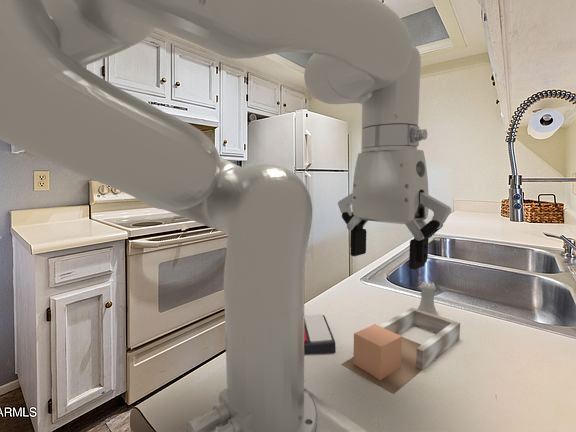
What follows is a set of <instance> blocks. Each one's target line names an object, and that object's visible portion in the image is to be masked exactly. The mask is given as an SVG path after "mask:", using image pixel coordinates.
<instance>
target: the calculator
mask: <svg viewBox="0 0 576 432" xmlns="http://www.w3.org/2000/svg"><path fill="white" fill-rule="evenodd" d="M336 349H337V348H336V340H335V337H334V335H333V333H332V331H331V328H330V325H329V323H328V320H327V318H326V315H324V314H322V313H318V314H308V315H307V314H306V315H305V314H304V355H318V354H320V355H322V354H335V353H336Z"/></svg>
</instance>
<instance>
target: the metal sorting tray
mask: <svg viewBox="0 0 576 432" xmlns="http://www.w3.org/2000/svg"><path fill="white" fill-rule="evenodd" d="M378 326H380V327H382V328H384V329H387V330H389V331H391V332H393V333H396V334H398V335H401V334H402V333H404V332H406V331H407V330H410V329H411V328H412V327H414V326H415V327H417V328H419V329H422V330H426V331H429V332H431V333H434V334H435V335H433V336H432V337H430V338H429V339H427V340H426V341H425V342H423V343H419V342H416V341H414V340H411V339H409V338H406V337H403V336H402V346H401V368H399V369H397V370H396V371H394V372H392V373H391V374H389V375H388V376H386V377H384V378H383V379H381V380H379V379H378V378H376V377H374V376H373V375H371V374H369V373H368V372H366V371H364V370H363V369H361V368H359V367H358V366H356V365H355V364H353V357H354V356H352V357H351V358H349V359H347V360H346V361H344V362H342V363H341V364H340V365H342V366H343V367H344V368H347V369H348V370H350V371H352V372H354V373H355V374H357V375H359V376H361V377H362V378H364V379H366V380H368V381H369V382H371V383H373V384H375V385H376V386H378V387H381V388H382V389H384V390H385V391H388V392H390V393H391V394H392V395H394V394H396V393H398V391H399V390H400V389H402V388H403V387H404V386H405V385H406V384H407V383H409V382H410V381H412V379H414V378H415V377H416V376H417V375H419V374H420V373H421V372H422V371H424V369H425V368H427V367H429V365H430V364H431V363H432V362H434V361H435V360H436V359H438V358H439V357H440V356H441V355H442V354H444V352H446V351H447V350H448V349H449V348H450V347H452V346H453V345H454V344H455V343H457V342H458V341H459V340H460V336H461V335H460V334H461V333H460V332H461V323H460V322H458V321H455V320H453V319H449V318H447V317H442V316H440V315H438V314H437V315H434V314H431V313H428V312H424V311H421V310H418V309H417V308H415V307H411V308H408V309H407V310H405V311H404V312H401V313H400V314H398V315H396V316H394V317H392V318H391V319H389V320H387V321H384V322H383V323H381V324H379V325H378Z"/></svg>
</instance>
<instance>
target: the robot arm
mask: <svg viewBox="0 0 576 432" xmlns="http://www.w3.org/2000/svg"><path fill="white" fill-rule="evenodd" d="M155 29H158V30H161V31H163V32H165V33H168V34H170V35H173V36H175V37H177V38H180V39H182V40H185V41H188V42H190V43H192V44H195V45H197V46H199V47H202V48H203V49H206V50H209V51H211V52H213V53H215V54H217V55H220V56H223V57H225V58H228V59H233V60H234V59H241V60H242V59H252V58H259V57H265V56H269V55H275V54H279V53H280V54H281V53H307V54H312V55H311V56H310V57H309V59H308V60H307V63H306V64H305V67H304V75H303V76H304V84H305V87H306V88H307V91H308V92H309V93H310V94H311V96H312V97H313V98H314V99H316V100H318V101H319V102H321V103H324V104H328V105H346V104H360V105H361V107H362V108H361V111H362V112H361V149H360V150H361V152H359V153H358V155H357V157H356V163H355V167H354V174H353V182H352V192H351V193H350V194H348V195H347V196H345V197H344V198H342V199H340V200H339V201H338V202H337V206H338V209H339V212H340V214H341V218H342V220H343V221H344V223H345V224H346V229H347V230H348V231H349V232H350V240H349V241H350V242H349V245H350V246H349V247H350V256H351V257H358V256H362V255H365V254H366V253H367V230H366V228H364V227H365V226H366V224H368V222H377V223H388V224H395V225H396V224H398V225H405V226H406V228H408V230H409V232H410V234H411V235H412V236H413V239H411V240H409V252H408V253H409V255H408V259H409V260H408V267H409V268H410V270H418V269H420V268H423V267H425V266H426V265H425V264H426V263H427V262H428V258H429V257H428V255H429V239H430V238H432V237H433V235H434V234H436V233H437V232H439V230H441V229H442V228H443V227H444V224H445V222H446V221H447V219H448V217H449V216H450V214H451V213H452V208H451V207H450V206H449V205H447V204H446V203H443V201H440V200H439V199H437V198H435V197H433V196H432V195H430V194H429V179H428V171H427V162H426V157H425V152H424V151H425V150H422V149H418V147H419V144H420V142H421V141H425V140H427V138H428V131H427V129H425V128H424V129H421V128H420V126H419V113H420V112H419V111H420V110H419V109H420V88H421V85H420V84H421V63H422V62H421V59H422V57H421V54H420V51H419V49H418V48H417V47H416V46H415V45H413V43H412V37H411V34H410V32H409V29H408V28H407V26H406V24H405V23H404V21H403V20H402V19H401V17H400V16H399V15H398V14H397V12H395V11H394V10H393V9H391V7H389V6H388V5H387V4H385V2H383V1H382V0H0V141H2V142H4V143H6V144H9V145H11V146H13V147H14V148H17V149H19V150H22V151H24V152H26V153H28V154H31V155H34V156H35V157H38V158H40V159H43V160H45V161H47V162H50V163H53V164H55V165H57V166H60V167H62V168H65V169H67V170H68V171H71V172H73V173H76V174H78V175H80V176H82V177H86V178H87V179H90V180H93V181H95V182H98V183H100V184H103V185H106V186H108V187H111V188H113V189H115V190H118V191H120V192H122V193H124V194H127V195H128V196H131V197H133V198H135V199H136V200H138V201H139V202H141V203H142V204H145V205H146V206H148V207H151V208H154V209H157V210H163V211H166V212H169V213H172V214H175V215H177V216H180V217H182V218H186V219H188V220H191V221H193V222H195V223H199V224H200V225H203V226H207V227H209V228H212V229H215V230H216V231H219V232H222V233H224V234H226V235H227V243H226V244H227V245H226V253H225V260H224V269H223V270H224V272H223V303H224V304H223V305H224V329H225V330H224V332H225V361H226V362H225V365H226V388H225V389H223V390H222V391H219V392H218V401H219V402H218V403H216V404H214V405H213V406H212V410H211V411H208V412H207V413H205V414H204V413H203V414H201V415H199V416H197V417H196V418H193V419H191V420H189V421H188V422H187V431H188V432H316V428H317V424H318V423H317V421H318V418H317V417H318V413H317V408H316V404H315V402H314V401H313V399H312V397H311V396H310V395H309V393H307V392H306V391H305V354H304V316H305V274H306V273H305V271H306V258H307V251H308V244H309V239H310V234H311V229H312V222H313V201H312V198H311V195H310V192H309V190H308V188H307V186H306V185H305V183H304V181H303V180H302V179H301V178H300V177H299V176H297V174H295V173H294V172H293V171H291V170H289V169H288V168H285V167H282V166H279V165H275V164H255V165H253V164H252V165H245V166H241V165H237V164H235V163H234V162H231V161H229V160H228V159H225V158H224V157H222V156H220V154H219V152H218V150H217V147H216V146H215V144H214V143H213V141H212V140H211V139H210V137H208V136H207V135H206V134H205V133H204V132H203V131H202V130H201V129H199V128H197V127H196V126H194V125H192V124H190V123H188V122H186V121H185V120H182V119H180V118H177V116H173V115H171V114H169V113H167V112H165V111H163V110H161V109H159V108H157V106H156V107H155V106H154V105H152V104H150V103H147V102H146V101H144V100H142V99H140V98H138V97H136V96H134V95H132V94H131V93H128V92H127V91H125V90H123V89H121V88H119V87H117V86H116V85H114V84H112V83H111V82H109V81H107V80H106V79H103V78H102V77H100V76H99V75H98V74H95V73H94V72H92V71H91V70H90V69H89V70H88V69H87V68H86V66H88V65H90V64H93V63H97V62H98V61H101V60H103V59H105V58H108V57H111V56H113V55H115V54H118V53H120V52H123V51H125V50H128V49H130V48H131V47H133V46H135V45H138V44H139V43H141V42H142V41H144V40H145V39H147V38H148V37H150V35H151V34H152V33H153V32H154V31H155ZM429 210H430V211H431V212H433V216H432V218H431V220H430V221H429V222H426V220H427V218H428V216H429ZM213 429H214V430H213ZM212 430H213V431H212Z"/></svg>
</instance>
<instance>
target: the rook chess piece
mask: <svg viewBox="0 0 576 432" xmlns="http://www.w3.org/2000/svg"><path fill="white" fill-rule="evenodd" d="M419 288H420V290H421V292H420V295H421V297H420V303H419V305H418V307H417V308H416V309H418V310H421V311H424V312H428V313H431V314H434V315H437V316H438V311H437V309H436V306H435V300H434V299H435V298H434V297H435V295H436V294H435V293H434V292H435V291H436V289H437V287H436V285H435V282H431V281H430V280H429V281H428V282H427V280H426V281H422V282H421V284H420V286H419Z"/></svg>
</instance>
